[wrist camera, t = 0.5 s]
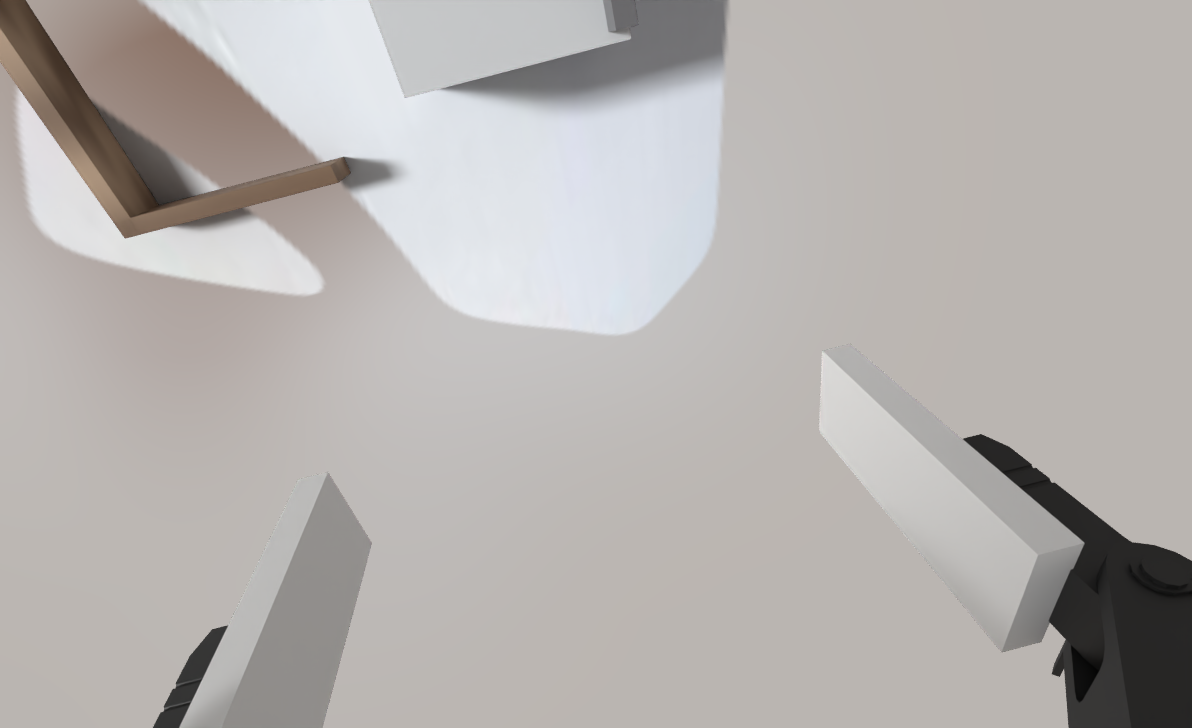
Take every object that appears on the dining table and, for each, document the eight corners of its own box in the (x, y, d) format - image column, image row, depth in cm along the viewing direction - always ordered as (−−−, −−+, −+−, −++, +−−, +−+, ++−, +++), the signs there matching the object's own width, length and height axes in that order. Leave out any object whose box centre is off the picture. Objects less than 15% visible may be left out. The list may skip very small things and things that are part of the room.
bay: (-25, -43, 27) (-81, -53, 24) (226, -107, 27) (196, -124, 25) (153, 224, 34) (125, 238, 32) (351, 172, 34) (338, 182, 32)
